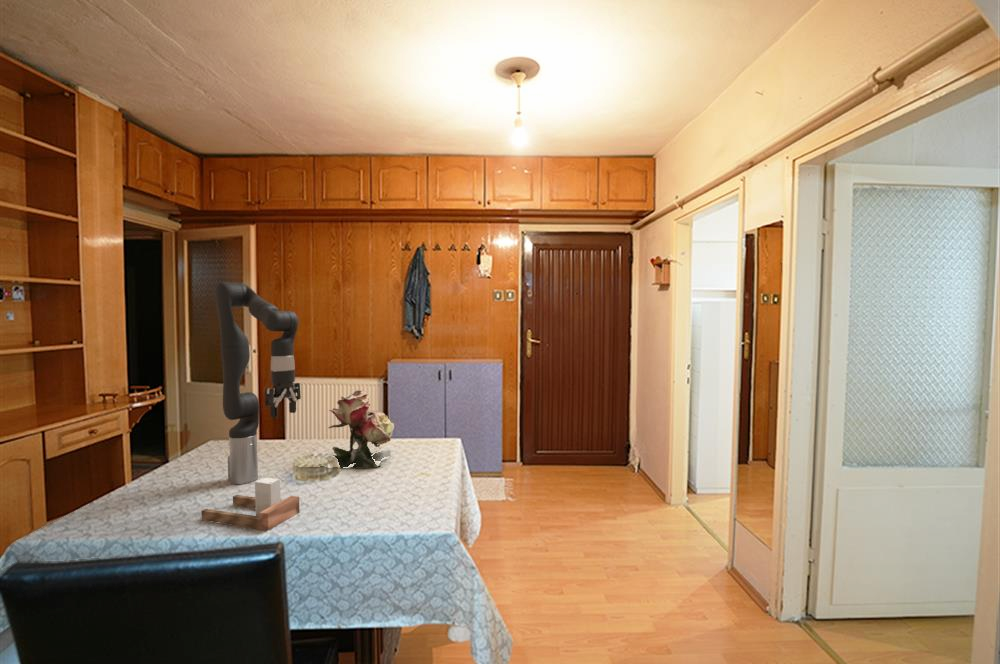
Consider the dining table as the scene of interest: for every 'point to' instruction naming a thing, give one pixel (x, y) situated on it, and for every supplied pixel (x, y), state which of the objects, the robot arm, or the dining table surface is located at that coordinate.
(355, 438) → the rose bouquet
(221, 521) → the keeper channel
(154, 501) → the dining table surface
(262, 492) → the skincare box
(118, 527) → the dining table surface
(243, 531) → the dining table surface
